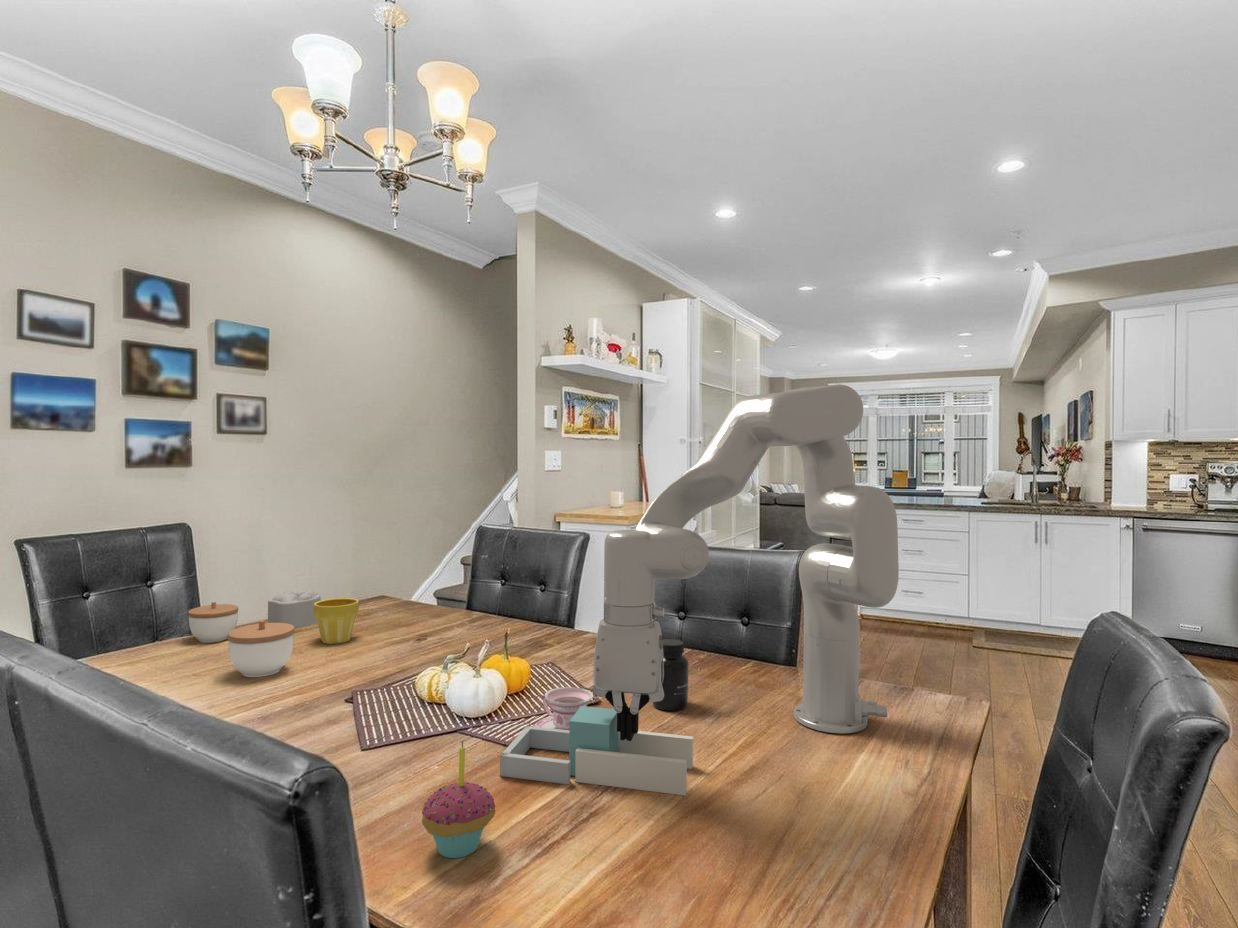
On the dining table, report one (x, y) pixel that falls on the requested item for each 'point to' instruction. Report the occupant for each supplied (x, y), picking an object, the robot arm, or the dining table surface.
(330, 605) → the plant pot
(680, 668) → the supplement bottle
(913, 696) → the dining table surface
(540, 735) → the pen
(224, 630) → the lidded jar
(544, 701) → the teacup
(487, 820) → the cupcake
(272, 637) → the lidded bowl
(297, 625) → the grey lumpy-topped box
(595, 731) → the block
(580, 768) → the channel
